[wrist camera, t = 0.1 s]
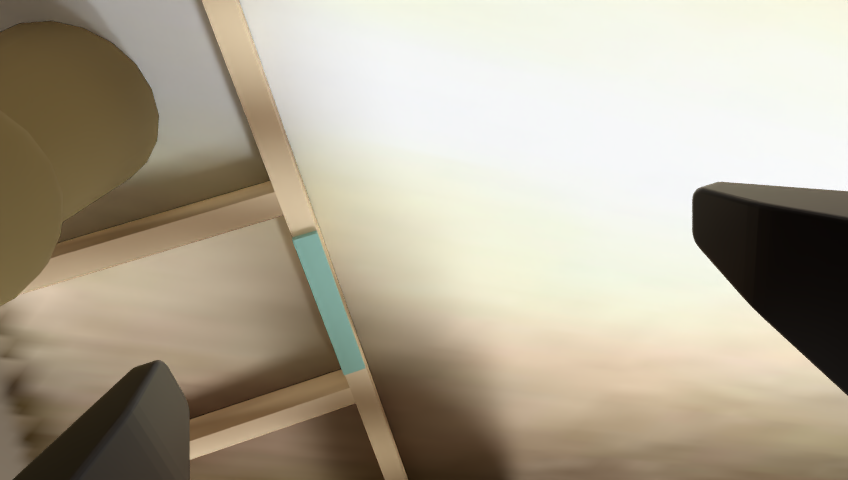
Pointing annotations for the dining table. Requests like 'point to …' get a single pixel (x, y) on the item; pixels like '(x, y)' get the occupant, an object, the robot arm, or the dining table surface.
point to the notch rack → (235, 213)
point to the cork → (62, 136)
